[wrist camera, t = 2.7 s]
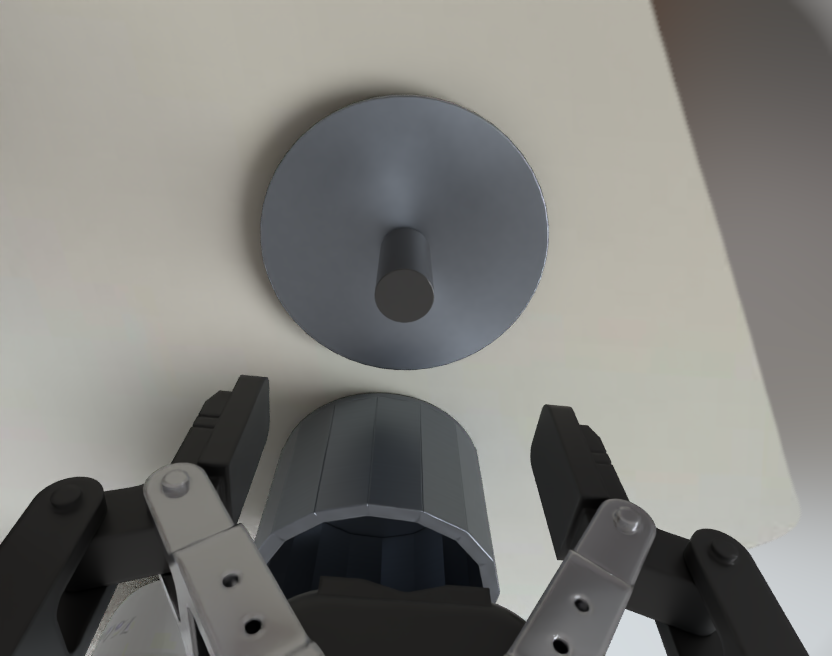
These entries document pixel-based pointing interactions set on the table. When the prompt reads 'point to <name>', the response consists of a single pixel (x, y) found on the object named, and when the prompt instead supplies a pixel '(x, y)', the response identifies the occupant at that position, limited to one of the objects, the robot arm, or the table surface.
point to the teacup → (142, 627)
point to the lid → (404, 232)
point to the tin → (378, 500)
